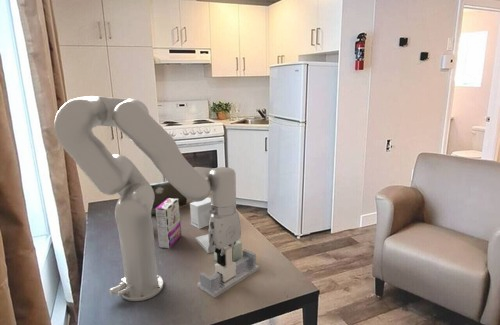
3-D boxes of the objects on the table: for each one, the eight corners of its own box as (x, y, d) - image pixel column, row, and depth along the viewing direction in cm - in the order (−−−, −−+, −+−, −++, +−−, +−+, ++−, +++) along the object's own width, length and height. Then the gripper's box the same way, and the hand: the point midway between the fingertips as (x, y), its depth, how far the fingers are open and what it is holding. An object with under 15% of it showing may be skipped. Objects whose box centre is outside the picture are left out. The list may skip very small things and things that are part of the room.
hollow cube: (227, 267, 111) (227, 249, 110) (214, 260, 116) (213, 242, 114) (242, 259, 116) (241, 241, 115) (228, 252, 121) (228, 235, 119)
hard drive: (227, 245, 125) (214, 232, 135) (208, 250, 120) (195, 237, 131) (227, 249, 125) (214, 235, 135) (208, 254, 121) (195, 240, 131)
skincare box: (209, 217, 152) (208, 196, 149) (218, 221, 147) (217, 200, 145) (190, 224, 145) (189, 202, 142) (199, 229, 140) (198, 206, 137)
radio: (185, 201, 172) (184, 174, 168) (193, 206, 165) (191, 178, 162) (142, 212, 159) (139, 182, 155) (148, 217, 152) (145, 187, 148)
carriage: (224, 282, 101) (223, 252, 98) (215, 276, 104) (214, 247, 101) (235, 275, 105) (235, 246, 102) (226, 269, 108) (225, 241, 105)
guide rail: (214, 297, 96) (214, 282, 95) (197, 286, 101) (196, 271, 100) (259, 269, 110) (259, 255, 109) (242, 260, 116) (241, 247, 114)
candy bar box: (170, 234, 135) (167, 197, 131) (181, 235, 134) (179, 198, 130) (157, 248, 125) (154, 208, 121) (170, 249, 124) (167, 209, 120)
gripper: (211, 220, 90) (214, 278, 95) (250, 204, 102) (250, 256, 106) (194, 213, 95) (197, 268, 100) (233, 198, 107) (234, 248, 111)
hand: (225, 262), depth 103 cm, fingers closed on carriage, 2 cm apart
